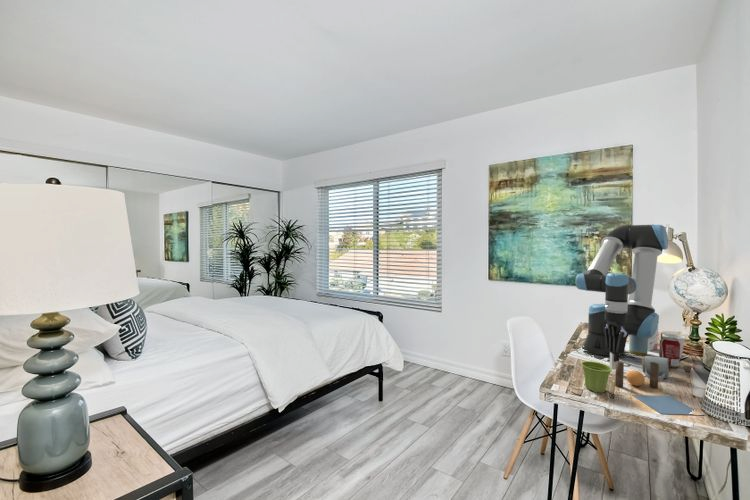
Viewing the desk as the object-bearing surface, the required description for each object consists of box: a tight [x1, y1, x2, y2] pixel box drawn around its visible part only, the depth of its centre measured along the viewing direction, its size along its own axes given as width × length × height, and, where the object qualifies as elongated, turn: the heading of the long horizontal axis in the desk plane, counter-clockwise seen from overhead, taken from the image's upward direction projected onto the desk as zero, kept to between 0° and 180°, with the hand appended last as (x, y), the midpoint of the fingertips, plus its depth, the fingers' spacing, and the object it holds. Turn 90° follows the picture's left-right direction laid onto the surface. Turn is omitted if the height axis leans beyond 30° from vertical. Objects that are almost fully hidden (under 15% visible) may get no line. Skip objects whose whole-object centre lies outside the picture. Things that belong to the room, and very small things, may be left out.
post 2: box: [649, 362, 659, 390], centre depth 127 cm, size 2×2×9 cm
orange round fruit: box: [626, 369, 646, 387], centre depth 129 cm, size 6×6×6 cm
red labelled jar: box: [658, 336, 681, 368], centre depth 150 cm, size 7×7×12 cm
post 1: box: [614, 360, 625, 388], centre depth 128 cm, size 2×2×9 cm
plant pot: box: [580, 360, 613, 393], centre depth 125 cm, size 9×9×9 cm
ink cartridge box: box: [648, 326, 659, 352], centre depth 173 cm, size 9×5×15 cm, turn 115°
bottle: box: [628, 335, 649, 356], centre depth 166 cm, size 7×7×15 cm
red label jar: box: [661, 333, 687, 359], centre depth 161 cm, size 8×8×10 cm
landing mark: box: [632, 394, 695, 416], centre depth 114 cm, size 13×13×1 cm
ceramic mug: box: [641, 355, 670, 381], centre depth 138 cm, size 11×8×8 cm
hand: (614, 368), depth 140 cm, fingers closed
